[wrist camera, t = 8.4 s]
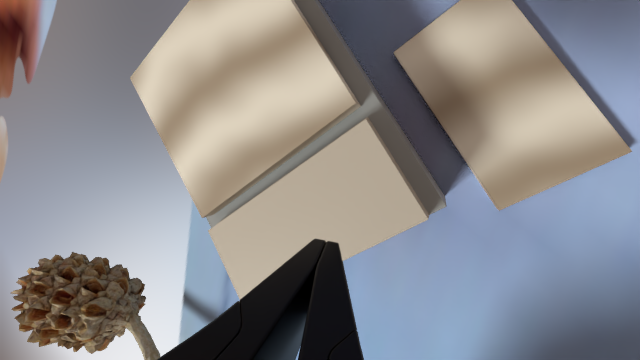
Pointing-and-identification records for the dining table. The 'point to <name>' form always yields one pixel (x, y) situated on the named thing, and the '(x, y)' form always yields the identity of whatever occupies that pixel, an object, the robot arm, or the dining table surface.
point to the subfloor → (329, 183)
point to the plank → (507, 100)
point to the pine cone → (82, 304)
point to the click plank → (239, 93)
